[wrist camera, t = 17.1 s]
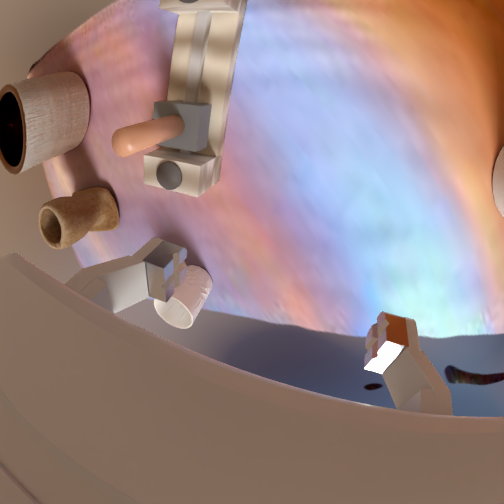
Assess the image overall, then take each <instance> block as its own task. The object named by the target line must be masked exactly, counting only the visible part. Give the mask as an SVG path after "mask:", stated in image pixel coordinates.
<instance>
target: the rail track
mask: <svg viewBox="0 0 504 504" xmlns="http://www.w3.org/2000/svg"><path fill="white" fill-rule="evenodd" d="M246 5H247V0H160V5H159V9H163V10H166V11H170V12H173V13H176V14H179V18H178V23H177V29H176V35H175V41H174V48H173V54H172V62H171V69H170V78H169V86H168V96H167V100H172V101H174V100H183V101H184V102H194V103H203V102H204V103H208V104H212V108H211V116H210V124H209V132H208V141H207V147H206V148H204V149H202V150H199V151H197V152H194V151H189V150H183V149H178V148H172V147H166V146H164V147H162V148H160V149H157V150H155V151H152V152H150V153H147V154H145V155H144V184H147V185H151V186H155V187H159V188H163V189H167V190H171V191H175V192H179V193H183V194H187V195H191V196H194V197H199V196H200V195H202V194H203V193H204V192H205V191H207V190H208V189H209V188H210V187H212V186H213V185H214V184H216V183H217V182H218V181H219V178H220V169H221V161H222V153H223V145H224V138H225V130H226V123H227V116H228V109H229V102H230V96H231V89H232V83H233V77H234V70H235V64H236V59H237V53H238V47H239V42H240V36H241V31H242V25H243V20H244V15H245V10H246Z"/></svg>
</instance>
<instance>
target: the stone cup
mask: <svg viewBox="0 0 504 504" xmlns="http://www.w3.org/2000/svg"><path fill="white" fill-rule="evenodd" d="M38 224H39V230H40V233H41V235H42V238H43V239H44V241H45V242H46V243H47V244H48V245H49V246H50V247H51V248H54V249H63V248H66V247H68V246H70V245H72V244H74V243H76V242H77V241H79V240H80V239H81V238H83V237H84V236H85V235H86V234H87V232H88V231H109V230H114V229H115V228H117V227H118V225H119V213H118V208H117V205H116V202H115V199H114V198H113V196H112V195H111V193H110V191H109V190H107V189H106V188H101V187H94V188H88V189H85V190H81V191H78V192H74V193H73V195H72V196H71V197H59V198H56V199H53V200H51V201H49V202H47V203H45V204H44V205H43V206H42V207H41V209H40V211H39V217H38Z"/></svg>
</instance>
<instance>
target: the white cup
mask: <svg viewBox="0 0 504 504" xmlns="http://www.w3.org/2000/svg"><path fill="white" fill-rule="evenodd" d="M212 284H213V282H212V279H211V276H210V275H209V274H208V273H207V271H206V270H204V269H202V268H201V267H199V266H195V265H189V266H187V272H186V276H185V278H184V281H183V282H182V284H181V285H180V286H178V287H176V288H174V294H173V295H172V296H171V298H170V299H169V300H168V302H167V303H165V302H163V301H160V300H158V299H154V307H155V309H156V311H157V313H158V314H159V315H160V316H161V318H162V319H163V320H165V321H166V322H167V323H169V324H170V325H173V326H175V327H178V328H189V327H190V326H191V325H192V324H193V322H194V320H195V318H196V317H197V315H198V313H199V311H200V310H201V308H202V306H203V304H204V302H205V300H206V298H207V296H208V294H209V292H210V291H211V289H212Z"/></svg>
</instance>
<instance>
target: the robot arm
mask: <svg viewBox="0 0 504 504" xmlns="http://www.w3.org/2000/svg"><path fill="white" fill-rule="evenodd" d="M493 195H494V200H495V203H496V206H497V208H498V210H499V212H500V213H501V215H502V216H503V217H504V146H503V148H502V149H501V151H500V153H499V155H498V157H497V160H496V163H495V167H494V172H493ZM186 257H187V250H186V248H184V247H181V246H178V245H176V244H173V243H170V242H168V241H164V240H162V239H159V238H156V237H155V238H152V239H151V240H150V241H149V242H147V243H146V244H145V245H144V246H143V247H142V248H141V249H140V250H138V251H137V252H136V253H135V254H134V255H133V256H125V257H122V258H118V259H115V260H111V261H108V262H104V263H101V264H97V265H94V266H90V267H87V268H83V269H81V270H80V271H79V272H78V273H77V274H75V275H74V276H73V277H72V278H71V279H70V280H69V281H68V282H67V283H66V284H62V283H60V282H59V281H57V280H56V279H54V278H53V277H51V276H50V275H48V274H47V273H45V272H44V271H42V270H41V269H39V268H38V267H36V266H35V265H34V264H32V263H31V262H29V261H28V260H26V259H25V258H24V257H22V256H21V255H19V254H16V253H13V254H8V255H5V256H2V257H0V504H504V417H464V416H453V415H452V403H451V394H450V391H449V389H448V387H447V386H446V384H445V383H444V381H443V380H442V379H441V377H440V375H439V374H438V372H437V371H436V369H435V368H434V366H433V365H432V363H431V362H430V361H429V359H428V358H427V356H426V355H425V353H424V352H423V351H421V350H420V348H419V347H420V346H419V340H418V333H417V327H416V322H415V320H413V319H409V318H406V317H401V316H397V315H394V314H391V313H387V312H384V311H382V312H381V313H380V314H379V316H378V317H377V323H376V324H374V325H372V326H371V328H370V330H369V332H368V334H367V337H366V342H365V344H366V345H365V347H366V349H367V350H368V352H367V354H366V355H365V366H364V369H368V370H371V371H375V372H379V373H382V376H383V378H384V380H385V382H386V385H387V387H388V389H389V392H390V394H391V396H392V399H393V401H394V403H395V406H396V408H397V409H391V408H384V407H379V406H373V405H368V404H363V403H358V402H353V401H349V400H344V399H340V398H335V397H331V396H327V395H323V394H319V393H315V392H311V391H307V390H304V389H301V388H297V387H293V386H290V385H286V384H283V383H280V382H277V381H273V380H270V379H267V378H264V377H261V376H258V375H255V374H252V373H249V372H246V371H243V370H240V369H238V368H235V367H232V366H230V365H227V364H224V363H222V362H219V361H216V360H214V359H211V358H209V357H206V356H204V355H201V354H199V353H196V352H194V351H192V350H189V349H187V348H184V347H182V346H180V345H177V344H175V343H173V342H171V341H168V340H166V339H164V338H162V337H160V336H158V335H156V334H153V333H151V332H149V331H147V330H145V329H143V328H141V327H139V326H137V325H135V324H133V323H131V322H129V321H127V320H125V319H123V318H121V317H119V316H118V315H115V314H114V313H116V312H119V311H120V310H123V309H125V308H127V307H129V306H131V305H133V304H135V303H137V302H140V301H141V300H144V299H146V298H148V297H149V296H150V297H153V298H155V299H158V300H160V301H163V302H165V303H167V302H168V300H169V299H170V298H171V296H172V295H173V294H174V288H176V287H178V286H180V285H181V284H182V282H183V281H184V278H185V276H186V272H187V265H186V263H185V261H184V260H185V259H186Z"/></svg>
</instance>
